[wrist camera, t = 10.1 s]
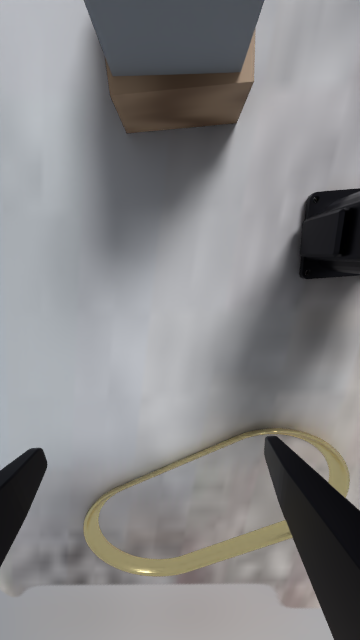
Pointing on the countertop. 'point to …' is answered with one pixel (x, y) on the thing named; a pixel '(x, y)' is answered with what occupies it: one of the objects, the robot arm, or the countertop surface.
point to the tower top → (174, 35)
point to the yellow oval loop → (217, 551)
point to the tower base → (181, 98)
